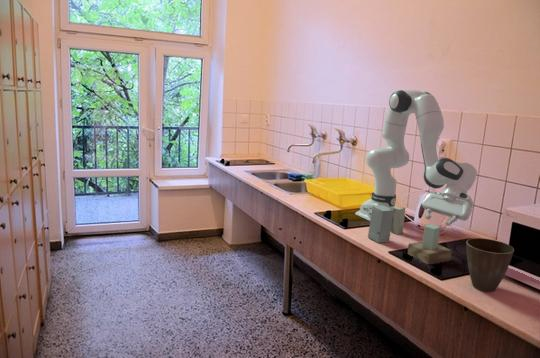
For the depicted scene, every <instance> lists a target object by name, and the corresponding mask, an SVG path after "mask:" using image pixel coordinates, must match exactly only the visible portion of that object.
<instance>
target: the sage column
mask: <svg viewBox="0 0 540 358" xmlns="http://www.w3.org/2000/svg"><path fill="white" fill-rule="evenodd" d="M440 231H441V227H440V226H438V225H434V224H431V223H430V224H427V225H424V226H423V235H422V242H423V243H422V247H425V248H428V249H431V250H433V249H435V248H438V244H439V240H440Z"/></svg>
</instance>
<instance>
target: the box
mask: <svg viewBox="0 0 540 358" xmlns="http://www.w3.org/2000/svg"><path fill="white" fill-rule="evenodd" d="M393 210H394V213H393V219H392V225H391V232H390V233H392V234H396V235H400V234H402V233H403V232H404V223H405V216H406V207H403V206H399V205H395V207H394V208H393Z"/></svg>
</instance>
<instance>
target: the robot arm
mask: <svg viewBox="0 0 540 358" xmlns="http://www.w3.org/2000/svg"><path fill="white" fill-rule="evenodd" d="M388 105H389V106H388V109H387V112H386V115H385V117H384V118H385V119H384V124H383V129H382V135H381V136H382V138H383V140H385V141H386V147H385V148H383V147H382V148H381V147H380V148H376V149H372V150H370V151H368V153H367V154H366V159H365V161H366V164H367V167H369V168H370V169H371V170H372V173H373V177H374V191H373V192H371V193H370V194H369V196H371V197H370V199H368V200H366V201H364V202H363V203H362V204H361V205H360V208H359V210H358V211H356V212H355V215H356V216H358V217H360V218H363V219H365V220H367V221H369V222H370V219H371V213H372V206H379V205H383V206H385V207H388V208H390V209H392V210H393V208H394V207H396V202H397V194H396V192H397V179H396V178H395V177H394V176H393V175H392V172H391V169H399V168H401V167H405V166H407V164H409V161H410V154H409V151H408V150H407V149H406V147H405V135H406V131H407V127H408V120H409V116H410V115H411V114H414V115H415V120H416V123H417V127H418V132H419V138H420V139H419V140H420V146H421V154H422V158H423V164H424V172H423V180H424V182H425V184H426V186H428V187H430V188H433V189H441V188H443V187H444V186H445V185H446V186H445V187H444V189H443V190H442V192H437V191H432V192H429V193H428V194H427V196H426V197H425V198H424V199H423V201H422V202H421V206H422V209H424V210H425V211H426V215H425V219H426V220H431V218H432V216H431V214H432V213H436V214H439V215H443V216H445V217H446V216H447V217H450V219H447V220H446V221H445V225H446V226H449V227H451V225H452V224H454V223H455V222H457V220H461V221H464V222H465V221H467V220H469V218H470V216H471V215H472V212H473V209H472V208H473V207H474V206H475V205H474V204H475V203H474V201H473V199H472V197H471V196H470V195H469V194H468V191H469V190H471V188H472V187H473V185H474V183H475V181H476V178H477V175H478V171H477V169H476V167H474V166H473V164H471V163H467V162H458V161H454V160H453V159H451V158H447V157H443V158H440V159H439V157H438V151H437V146H438V145H437V144H438V141H439V138H440V136H441V135H442V132H443V131H444V128H445V127H444V124H445V122H444V117H443V114H442V110H441V108H440V105H439V103H438V101H437V99H436V97H435V96H434V95H432V94H431V93H429V92H428V91H424V90H423V91H421V90H413V89H412V90H402V89H401V90H395V91H394V92H392V93H391V95H390V97H389V102H388Z"/></svg>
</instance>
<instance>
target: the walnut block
mask: <svg viewBox="0 0 540 358" xmlns="http://www.w3.org/2000/svg"><path fill="white" fill-rule="evenodd" d="M422 243H423V241H418V242H411V243H408V245H407V246H408V247H407V255H409V256H410V257H412V256H413V258H414V257H415V259H416V258H417V259H416V260H418V259H419V260H418V261H420V260H421V261H420V262H422V263H424V264H425V265H427V264H428V265H429V264H430V265H434V264H435V263H436V264H440V262H441V263H445V262H446V263H447V262H450V261H451V259H452V258H451V257H452V251H453V250H452V249H451V248H450V249H449V248H447V247H445V246H443V245H441V244H439V243H438V248H435V249H433V250H431V249H428V248H425V247H422Z"/></svg>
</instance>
